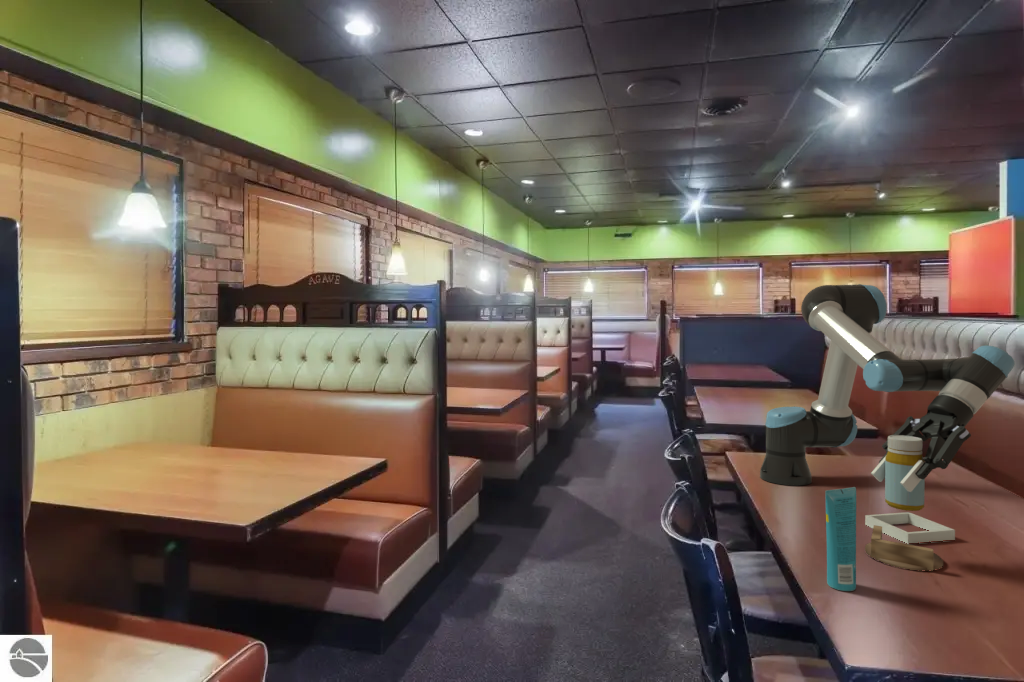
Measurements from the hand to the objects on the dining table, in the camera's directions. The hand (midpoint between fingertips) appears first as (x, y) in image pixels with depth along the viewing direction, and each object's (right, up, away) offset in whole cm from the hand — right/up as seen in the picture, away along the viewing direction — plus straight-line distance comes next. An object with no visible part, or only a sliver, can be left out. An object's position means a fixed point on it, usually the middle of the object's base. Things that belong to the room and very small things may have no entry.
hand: (890, 482), depth 121 cm
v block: (+4, -17, +1) cm, 17 cm away
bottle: (+4, -6, +1) cm, 7 cm away
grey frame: (+15, -16, +15) cm, 27 cm away
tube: (-18, -18, -11) cm, 27 cm away
